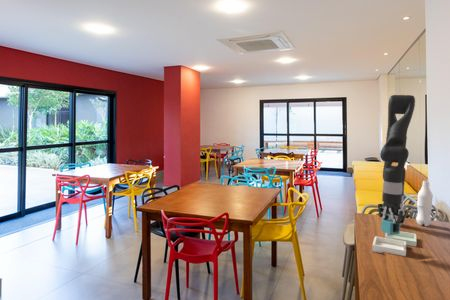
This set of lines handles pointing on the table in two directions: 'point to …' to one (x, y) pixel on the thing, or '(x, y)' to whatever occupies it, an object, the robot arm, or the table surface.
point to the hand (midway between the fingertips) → (390, 229)
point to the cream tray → (389, 246)
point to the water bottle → (424, 205)
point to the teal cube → (388, 227)
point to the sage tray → (404, 238)
